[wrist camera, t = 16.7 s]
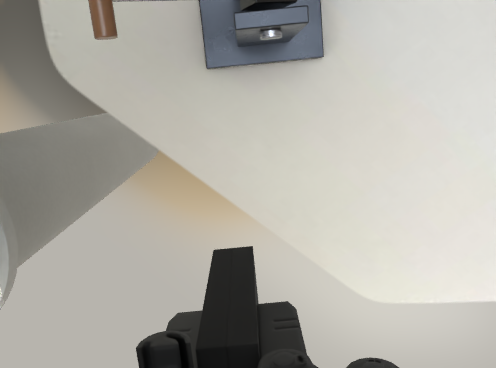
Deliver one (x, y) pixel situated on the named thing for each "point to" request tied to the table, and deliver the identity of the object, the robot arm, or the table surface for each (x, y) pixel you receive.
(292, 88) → the table surface
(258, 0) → the lever
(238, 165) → the table surface
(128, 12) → the table surface
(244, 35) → the bracket
